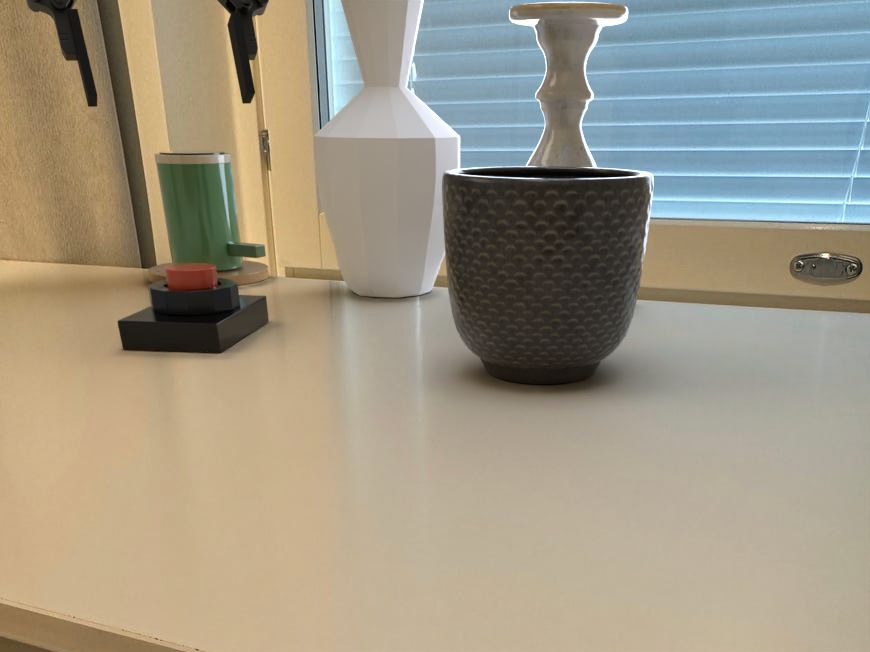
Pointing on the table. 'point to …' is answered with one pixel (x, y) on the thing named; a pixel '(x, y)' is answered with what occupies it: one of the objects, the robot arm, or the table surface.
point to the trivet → (223, 273)
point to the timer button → (191, 276)
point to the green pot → (202, 209)
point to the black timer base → (193, 319)
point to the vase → (385, 161)
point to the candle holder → (565, 73)
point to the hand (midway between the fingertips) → (173, 100)
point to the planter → (544, 265)
